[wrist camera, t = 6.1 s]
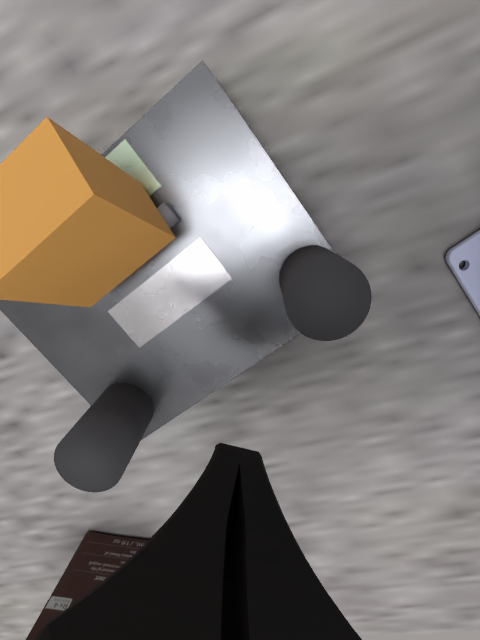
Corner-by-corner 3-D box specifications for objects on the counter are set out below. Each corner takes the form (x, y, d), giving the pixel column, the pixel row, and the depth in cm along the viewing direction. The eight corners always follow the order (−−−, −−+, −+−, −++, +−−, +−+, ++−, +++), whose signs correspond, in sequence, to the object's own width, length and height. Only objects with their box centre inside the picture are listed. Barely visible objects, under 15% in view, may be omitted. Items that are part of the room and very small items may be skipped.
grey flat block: (349, 282, 20) (362, 292, 17) (144, 421, 23) (130, 448, 20) (211, 80, 17) (202, 58, 15) (4, 270, 20) (-32, 278, 18)
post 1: (164, 413, 20) (137, 470, 15) (124, 440, 20) (88, 502, 16) (127, 372, 19) (88, 420, 15) (87, 401, 20) (39, 455, 15)
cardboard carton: (194, 240, 16) (101, 187, 10) (104, 312, 17) (-26, 303, 11) (160, 189, 17) (53, 109, 11) (76, 262, 18) (-63, 228, 12)
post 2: (355, 284, 17) (387, 309, 13) (302, 320, 18) (315, 355, 13) (320, 231, 16) (340, 239, 12) (266, 271, 17) (268, 292, 13)
